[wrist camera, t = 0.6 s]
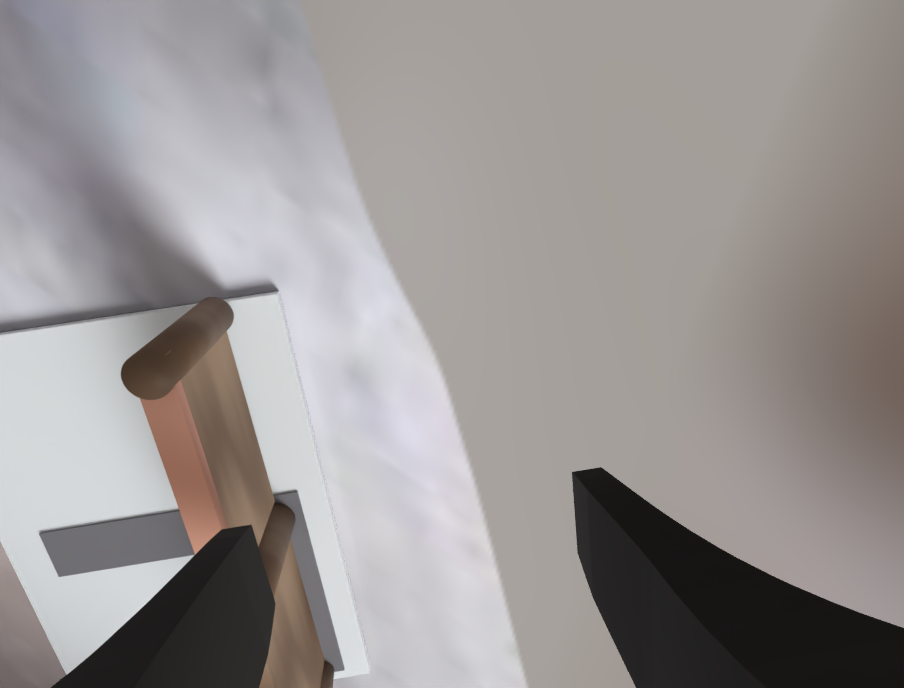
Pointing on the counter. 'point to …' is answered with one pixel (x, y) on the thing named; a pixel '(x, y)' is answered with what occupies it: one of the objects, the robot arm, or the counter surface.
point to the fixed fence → (290, 613)
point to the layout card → (146, 477)
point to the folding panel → (202, 423)
